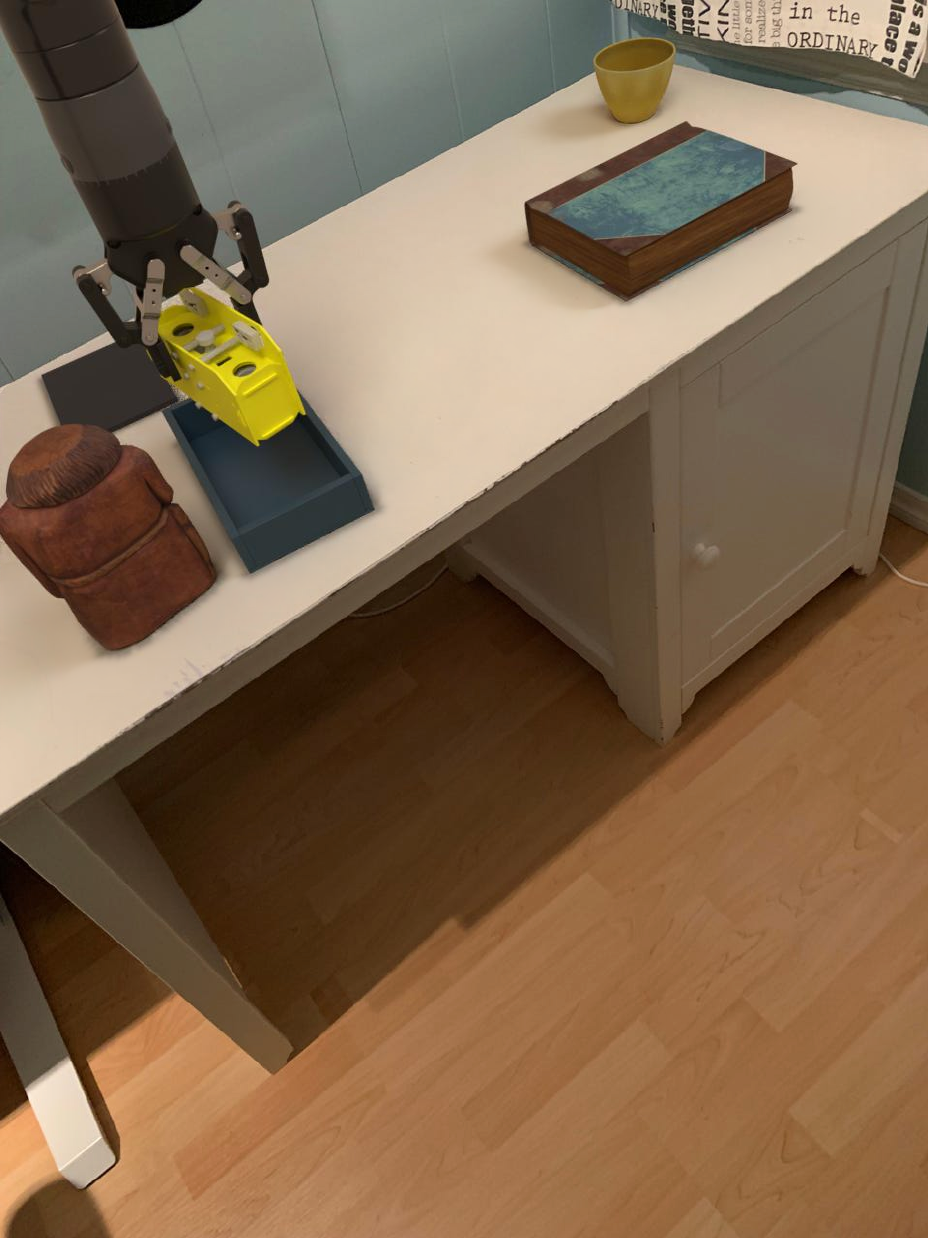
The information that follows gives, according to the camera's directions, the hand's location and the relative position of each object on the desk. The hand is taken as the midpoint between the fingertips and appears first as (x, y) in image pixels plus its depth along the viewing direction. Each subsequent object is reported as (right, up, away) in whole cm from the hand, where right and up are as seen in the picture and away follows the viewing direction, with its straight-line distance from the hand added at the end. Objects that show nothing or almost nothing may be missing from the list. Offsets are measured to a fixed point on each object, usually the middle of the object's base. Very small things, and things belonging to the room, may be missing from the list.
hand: (214, 358), depth 72 cm
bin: (+2, -8, +10) cm, 13 cm away
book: (+42, +22, +25) cm, 54 cm away
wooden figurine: (-6, -20, +2) cm, 21 cm away
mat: (-19, +4, +24) cm, 31 cm away
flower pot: (+43, +45, +43) cm, 76 cm away
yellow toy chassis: (+1, -3, +4) cm, 5 cm away
